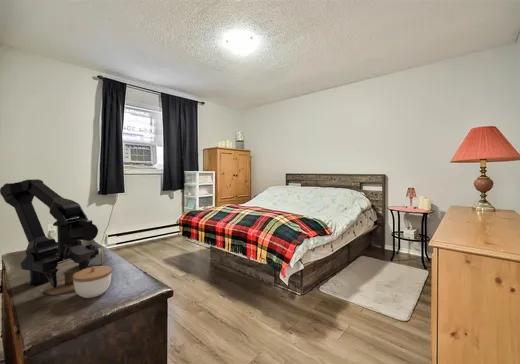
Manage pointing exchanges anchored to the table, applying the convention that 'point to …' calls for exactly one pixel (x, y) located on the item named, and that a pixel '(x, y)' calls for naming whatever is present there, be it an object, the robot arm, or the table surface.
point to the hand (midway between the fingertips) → (69, 281)
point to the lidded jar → (92, 281)
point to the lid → (62, 285)
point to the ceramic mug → (97, 259)
